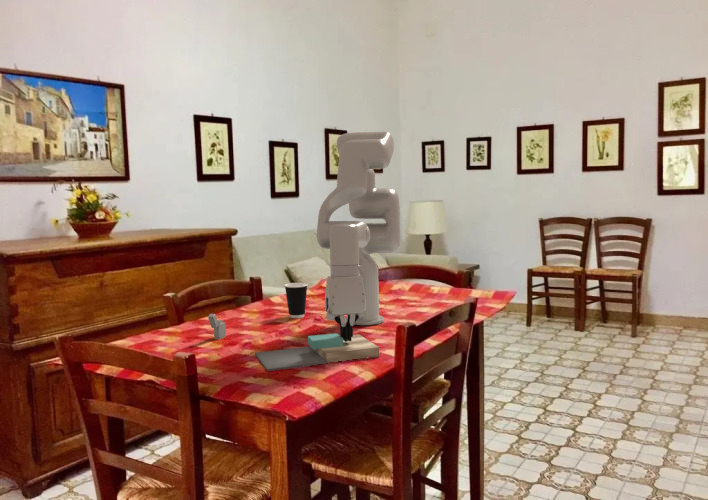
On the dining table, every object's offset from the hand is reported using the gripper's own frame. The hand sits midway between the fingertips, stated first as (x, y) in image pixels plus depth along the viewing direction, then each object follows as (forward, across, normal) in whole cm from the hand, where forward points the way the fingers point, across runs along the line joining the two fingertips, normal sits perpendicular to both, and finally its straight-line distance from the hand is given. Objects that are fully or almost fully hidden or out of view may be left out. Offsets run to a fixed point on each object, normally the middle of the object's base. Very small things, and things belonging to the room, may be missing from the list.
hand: (346, 340), depth 161 cm
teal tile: (+1, +6, -1) cm, 6 cm away
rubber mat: (+3, +15, 0) cm, 16 cm away
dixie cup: (+3, 0, -50) cm, 50 cm away
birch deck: (+3, +1, 0) cm, 3 cm away
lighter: (+4, +30, -30) cm, 42 cm away
